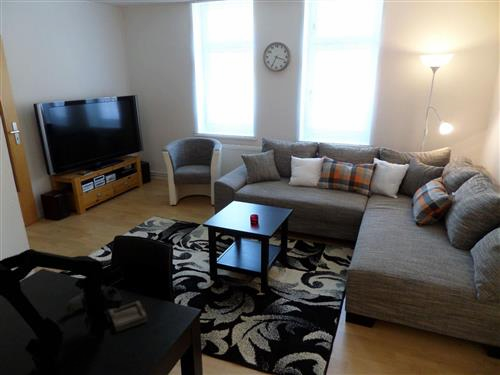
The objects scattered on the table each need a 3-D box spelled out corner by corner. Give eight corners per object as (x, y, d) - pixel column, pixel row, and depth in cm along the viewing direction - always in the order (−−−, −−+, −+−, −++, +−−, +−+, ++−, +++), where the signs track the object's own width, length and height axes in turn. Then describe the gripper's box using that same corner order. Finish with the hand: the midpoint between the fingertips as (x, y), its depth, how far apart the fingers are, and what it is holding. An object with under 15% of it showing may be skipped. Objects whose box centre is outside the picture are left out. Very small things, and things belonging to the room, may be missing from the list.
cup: (115, 334, 117) (113, 315, 115) (96, 348, 111) (93, 327, 109) (101, 326, 121) (98, 307, 118) (82, 339, 115) (79, 319, 112)
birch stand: (147, 320, 124) (147, 316, 124) (116, 332, 118) (115, 327, 118) (139, 304, 133) (138, 300, 132) (109, 314, 127) (109, 310, 127)
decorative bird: (64, 313, 128) (61, 296, 125) (103, 293, 140) (101, 277, 138) (72, 319, 125) (69, 301, 123) (111, 297, 138) (109, 281, 135)
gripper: (125, 300, 108) (129, 340, 112) (112, 273, 123) (117, 309, 127) (87, 312, 102) (93, 354, 106) (78, 282, 117) (84, 320, 121)
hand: (98, 332), depth 115 cm, fingers open, 9 cm apart
